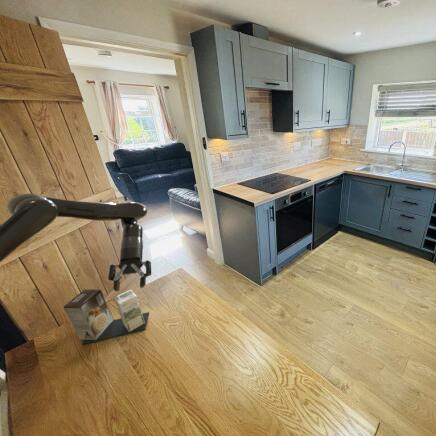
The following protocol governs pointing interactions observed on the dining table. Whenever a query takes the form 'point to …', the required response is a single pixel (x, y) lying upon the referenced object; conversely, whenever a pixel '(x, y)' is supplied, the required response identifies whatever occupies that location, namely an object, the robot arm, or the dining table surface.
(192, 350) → the dining table surface
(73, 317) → the coffee box
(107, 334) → the dark gray mat
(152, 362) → the dining table surface
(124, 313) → the syrup box
